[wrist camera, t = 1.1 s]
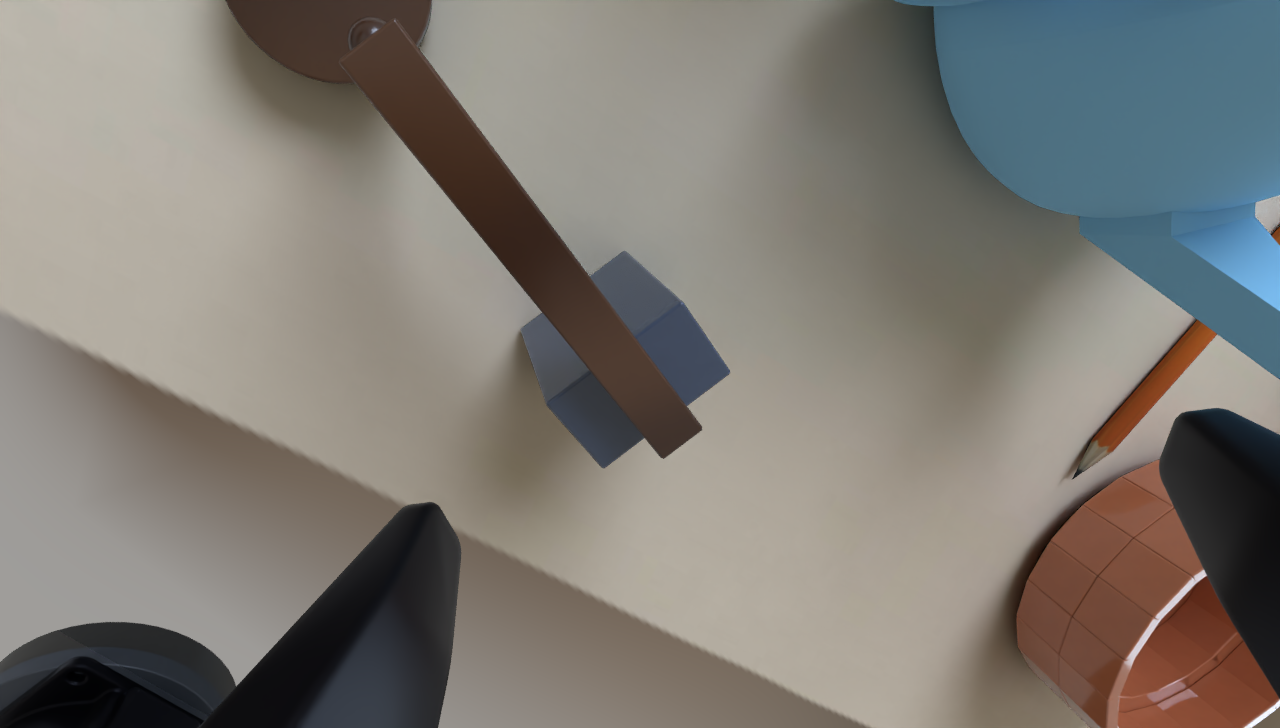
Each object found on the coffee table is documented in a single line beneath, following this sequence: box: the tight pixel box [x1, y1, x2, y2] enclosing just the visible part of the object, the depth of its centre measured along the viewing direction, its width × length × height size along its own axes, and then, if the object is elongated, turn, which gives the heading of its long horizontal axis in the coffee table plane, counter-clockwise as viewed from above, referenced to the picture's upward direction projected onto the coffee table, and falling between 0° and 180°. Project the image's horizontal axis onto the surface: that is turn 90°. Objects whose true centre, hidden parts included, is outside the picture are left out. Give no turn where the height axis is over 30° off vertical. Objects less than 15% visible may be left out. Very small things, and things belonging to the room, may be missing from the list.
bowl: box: [1016, 459, 1280, 728], centre depth 31 cm, size 13×13×6 cm
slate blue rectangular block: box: [521, 251, 730, 468], centre depth 19 cm, size 4×2×5 cm, turn 124°
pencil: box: [1072, 227, 1280, 479], centre depth 28 cm, size 1×19×1 cm, turn 143°
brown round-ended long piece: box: [226, 0, 702, 459], centre depth 15 cm, size 14×4×7 cm, turn 34°
